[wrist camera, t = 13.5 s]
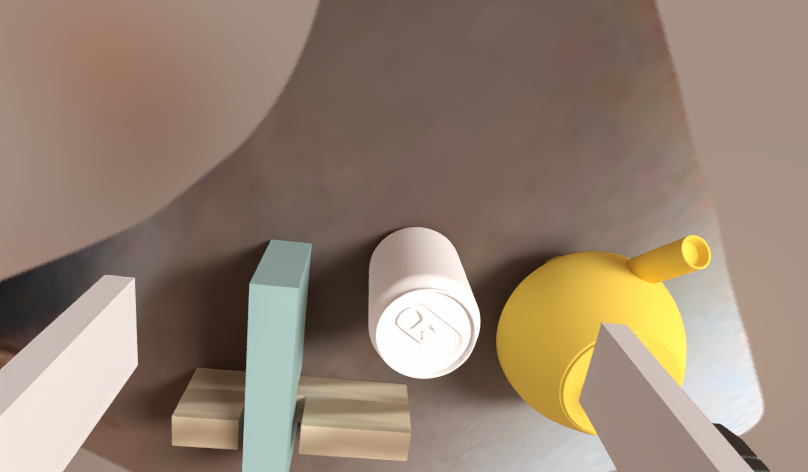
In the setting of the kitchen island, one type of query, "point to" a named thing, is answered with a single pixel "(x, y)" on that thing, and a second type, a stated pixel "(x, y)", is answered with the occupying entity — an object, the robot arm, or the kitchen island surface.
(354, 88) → the kitchen island surface
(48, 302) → the kitchen island surface
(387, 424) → the birch rail
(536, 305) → the teapot
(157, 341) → the kitchen island surface
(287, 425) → the teal board
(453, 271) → the beverage can
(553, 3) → the kitchen island surface
